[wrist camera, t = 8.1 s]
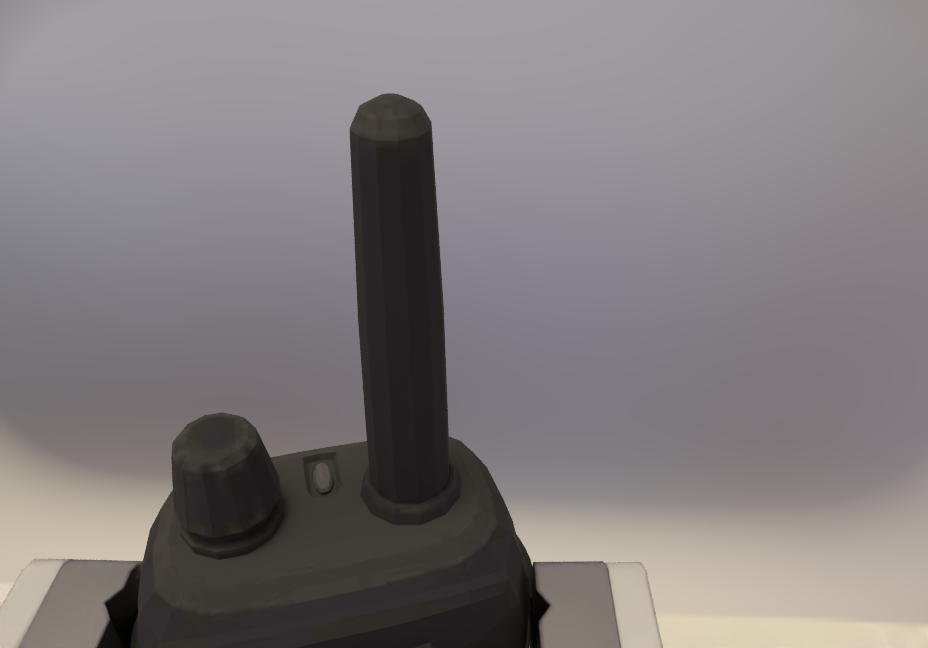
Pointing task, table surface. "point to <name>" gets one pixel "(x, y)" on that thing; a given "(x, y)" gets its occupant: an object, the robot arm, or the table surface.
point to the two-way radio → (349, 473)
